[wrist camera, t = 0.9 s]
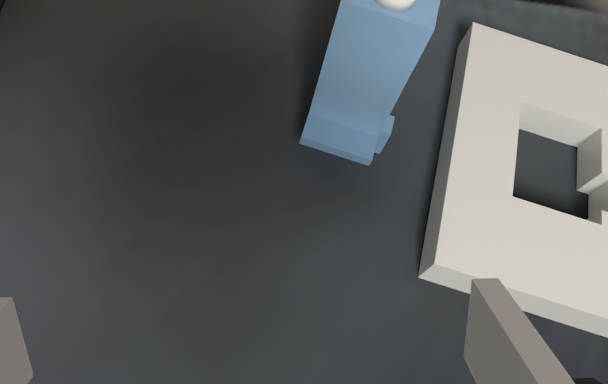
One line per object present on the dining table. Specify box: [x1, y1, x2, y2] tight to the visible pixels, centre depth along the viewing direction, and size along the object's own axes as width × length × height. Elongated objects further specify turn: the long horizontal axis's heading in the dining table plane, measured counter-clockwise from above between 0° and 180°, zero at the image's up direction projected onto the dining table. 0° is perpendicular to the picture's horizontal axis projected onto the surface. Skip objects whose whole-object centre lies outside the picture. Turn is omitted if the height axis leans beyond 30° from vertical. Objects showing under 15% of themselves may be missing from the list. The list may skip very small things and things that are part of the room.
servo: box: [299, 0, 440, 166], centre depth 34 cm, size 11×6×15 cm, turn 165°
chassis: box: [418, 22, 608, 338], centre depth 39 cm, size 22×16×3 cm
